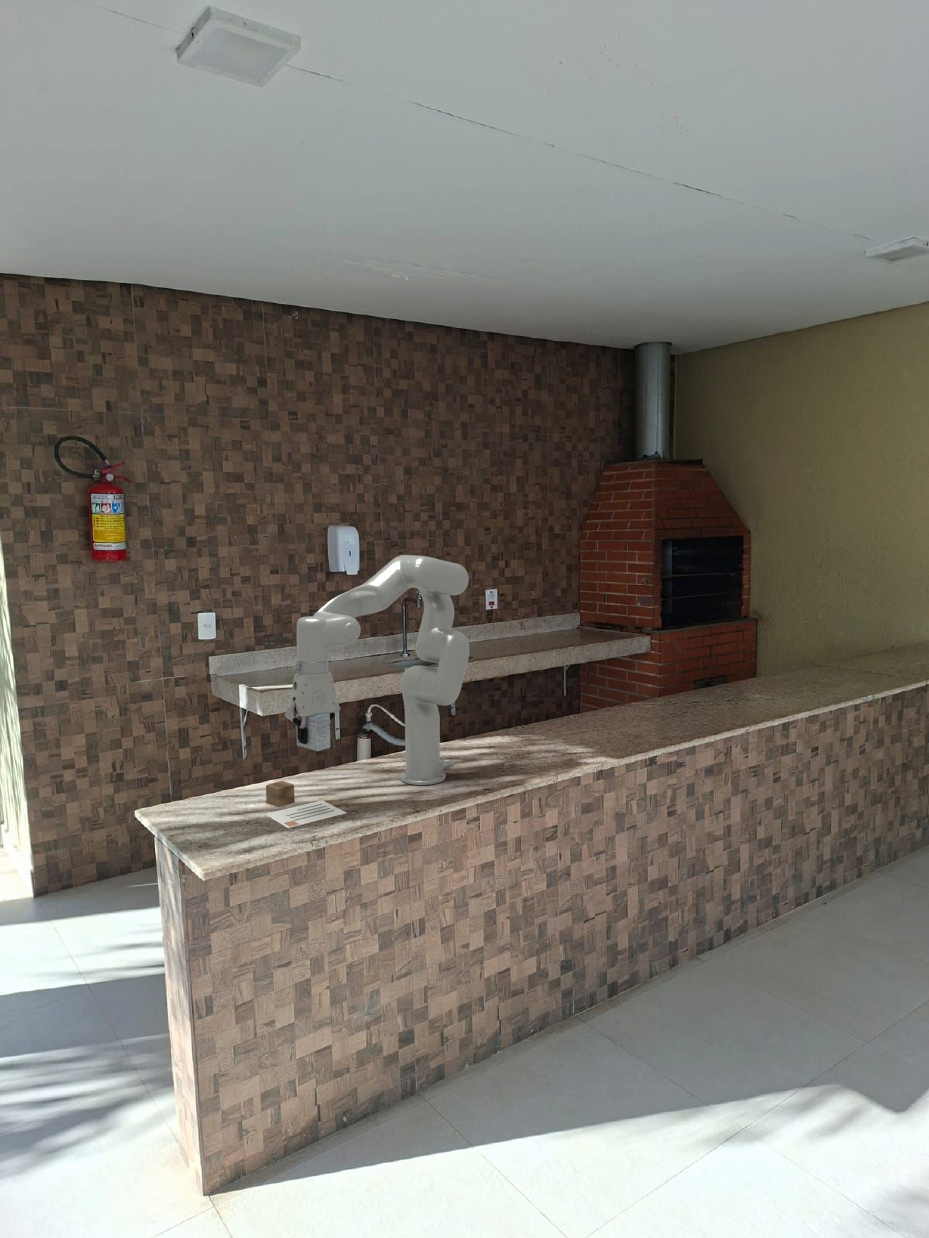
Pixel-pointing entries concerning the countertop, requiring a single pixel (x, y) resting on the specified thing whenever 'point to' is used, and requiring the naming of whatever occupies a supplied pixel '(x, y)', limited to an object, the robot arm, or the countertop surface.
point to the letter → (305, 813)
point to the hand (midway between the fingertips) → (313, 740)
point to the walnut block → (280, 793)
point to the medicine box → (317, 732)
